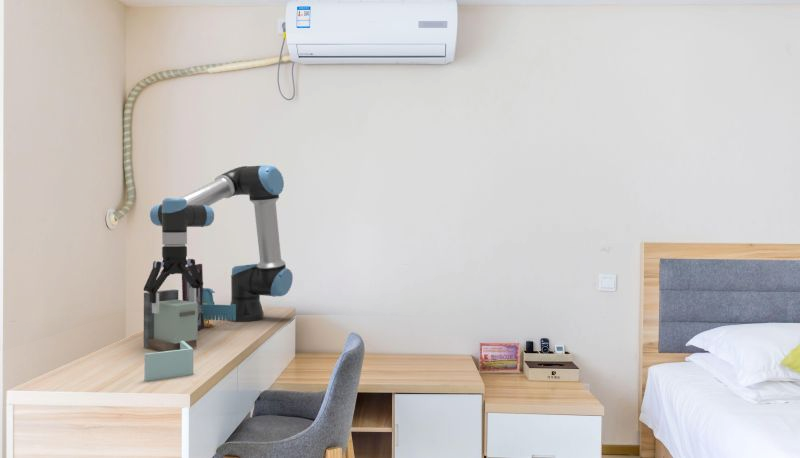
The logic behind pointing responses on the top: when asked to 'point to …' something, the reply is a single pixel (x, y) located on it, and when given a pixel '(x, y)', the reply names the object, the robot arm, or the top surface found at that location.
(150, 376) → the l-shaped corner panel
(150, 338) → the grey bookend
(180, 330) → the cabinet box
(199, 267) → the picture frame
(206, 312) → the blue toy animal
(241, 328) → the top surface
